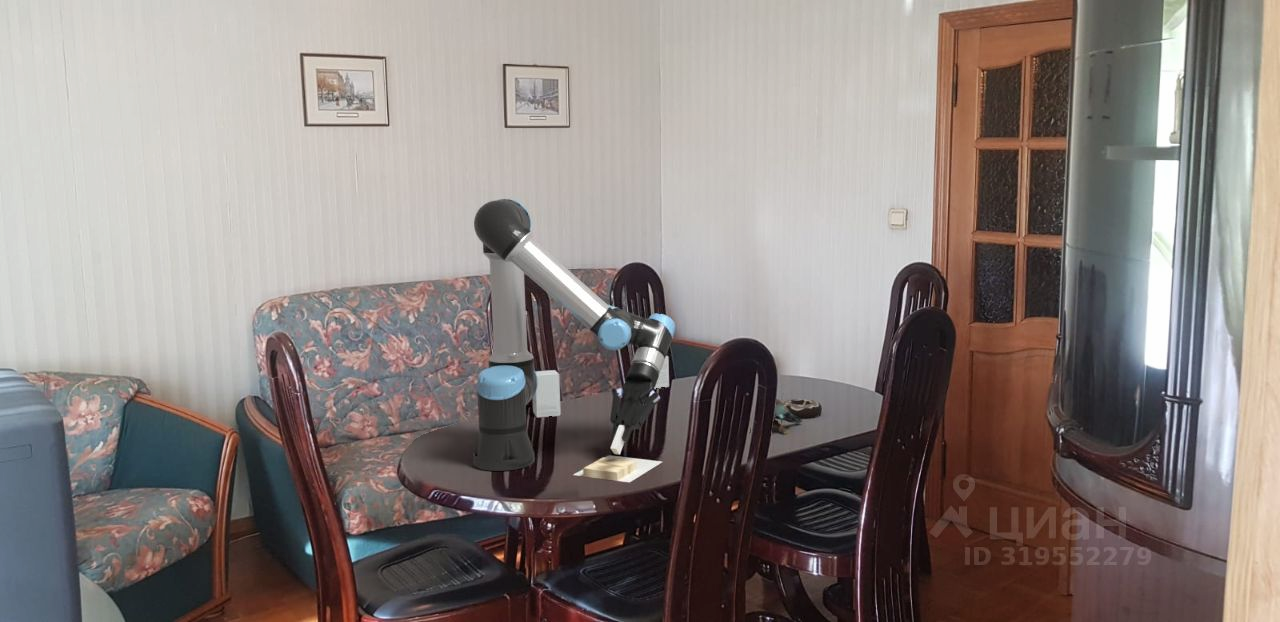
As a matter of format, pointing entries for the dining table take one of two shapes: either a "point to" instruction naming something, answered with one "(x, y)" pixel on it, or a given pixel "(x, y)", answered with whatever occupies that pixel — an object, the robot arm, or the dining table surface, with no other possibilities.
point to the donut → (803, 408)
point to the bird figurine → (783, 416)
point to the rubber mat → (641, 469)
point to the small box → (663, 375)
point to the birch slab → (610, 469)
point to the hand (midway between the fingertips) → (615, 451)
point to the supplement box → (547, 394)
